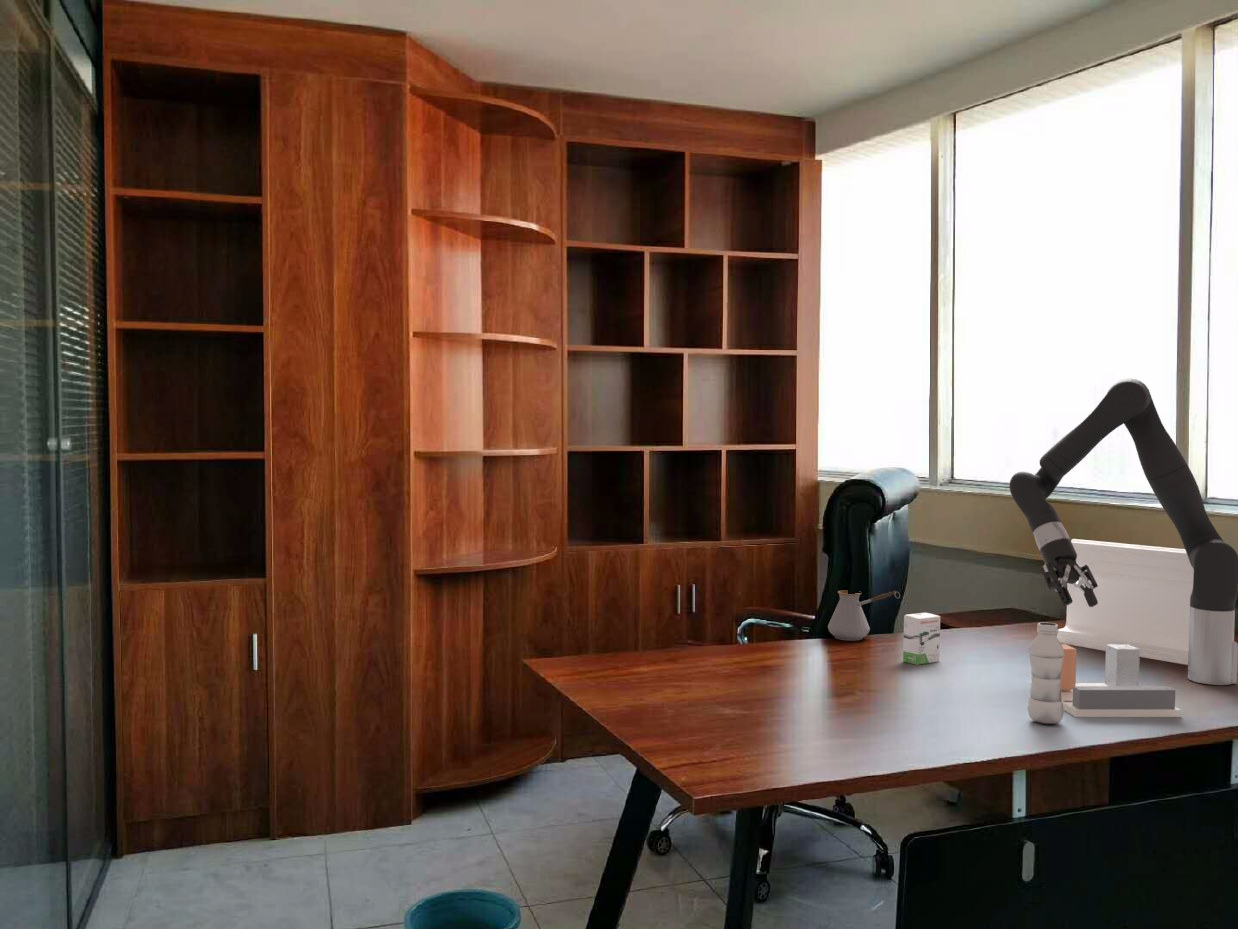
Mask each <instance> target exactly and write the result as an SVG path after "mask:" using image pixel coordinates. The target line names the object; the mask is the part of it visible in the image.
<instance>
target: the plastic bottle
mask: <svg viewBox="0 0 1238 929" xmlns="http://www.w3.org/2000/svg"><path fill="white" fill-rule="evenodd" d="M1058 627H1059V626H1058V624H1057V623H1053V622H1044V621H1043V622H1038V623H1037V627H1036V628H1037V629H1036V633H1037V636H1036V637H1035V638H1034V639H1033V640H1032V642H1031V643H1030V645H1029V647H1028V653H1029V660H1030V668H1031V670H1030V672H1031V683H1032V684H1031V683H1030V689H1031V690H1030V696H1029V699H1028V700H1029V701H1028V704H1027V705H1028V706H1027V712H1028V716H1029V718H1030V719H1031V720H1032V721H1033V722H1036V723H1040V724H1046V725H1052V724H1053V725H1054V724H1059V723H1061V722H1062V720H1063V718H1064V712H1065V711H1064V710H1063V703H1062V701H1061V700H1062V698H1061V679H1060V678H1061V670H1062V664H1063V658H1064V649H1063V646H1062V645H1061V644H1062V643H1060V641H1059V640H1058V639H1057V634H1058V631H1057V630H1058Z"/></svg>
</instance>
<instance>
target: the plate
mask: <svg viewBox="0 0 1238 929" xmlns="http://www.w3.org/2000/svg"><path fill="white" fill-rule="evenodd" d="M1031 684H1032V682H1030V685H1031ZM1030 691H1031V688H1030ZM1061 698H1062V700H1061V701H1062V703H1063V710H1064V712H1066V713H1068V714H1069V715H1071V716H1072V717H1074V718H1181V717H1182V709H1180V708H1178V707H1176V689H1174V688H1172V687H1170V686H1164V685H1163V686H1159V685H1157V686H1156V685H1154V686H1151V685H1146V686H1144V685H1142V686H1141V685H1140V686H1107V685H1105V682H1102V683H1101V682H1098V683H1097V682H1094V683H1093V682H1091V683H1090V682H1089V683H1087V682H1078V683H1077V682H1076V686H1073V690H1061Z"/></svg>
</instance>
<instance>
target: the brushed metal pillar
mask: <svg viewBox="0 0 1238 929" xmlns="http://www.w3.org/2000/svg"><path fill="white" fill-rule="evenodd" d="M1140 658H1141V657H1140V649H1138V648H1135V647H1133V646H1131V645H1128V644H1106V651H1105V664H1104V666H1105V667H1104V668H1105V669H1104V670H1105V674H1104V683H1105V685H1107V686H1139V684H1140V683H1139V681H1140Z"/></svg>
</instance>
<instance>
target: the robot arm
mask: <svg viewBox="0 0 1238 929" xmlns="http://www.w3.org/2000/svg"><path fill="white" fill-rule="evenodd" d="M1153 400H1154V399H1153V398H1152V395H1151V392H1150V389H1149V388H1148V387H1147V385H1146V384H1145V383H1144V382H1142V381H1141V380H1138V379H1136V378H1124V379H1120V380H1118V381H1117V382H1115V383H1113V385H1111V386H1109V388H1108V390H1107V392H1106V394H1105V395H1104V397H1103V398H1102V399H1101V401H1100V402H1099V403H1097V404H1098V405H1097V406H1096V407H1095V408H1094V410H1092V411H1091V412H1090V413H1089V414H1088V416H1087V417H1086V418H1085V419H1084V420H1083V421H1082V422H1080V423H1079V424H1078V425H1077V426H1075V427H1074V428H1073V429H1071V430H1070V431H1069V432H1068V433H1067V434H1065V435H1064V436H1063V437H1062V438H1061V439H1059V441H1057V442H1056V443H1055V444H1054V445H1053V446H1052V447H1051V448H1049V449H1048V451H1046V452H1045V453H1044V454H1043V455H1042V456H1041V458H1040V459H1039V465H1040V468H1039V469H1038V471H1037V472H1036V473H1031V472H1029V471H1018V472H1015V473H1014V474H1013V476H1011V479H1010V480H1009V490H1010V494H1011V497H1012V498H1013V500H1014V502H1015V504H1016V505H1017V507H1018V508H1019V510H1020V511H1021V513H1022V514H1024V516H1025V518H1026V520H1027V523H1028V525H1029V527H1030V529H1031V532H1032V534H1033V536H1034V541H1035V543H1036V545H1037V548H1038V550H1039V552H1040V556H1041V558H1042V559H1043V562H1044V565H1042V566H1041V567H1040V569H1041V572H1042V574H1043V577H1044V580H1045V583H1046V585H1047V587H1048V589H1049V590H1052V589H1053V590H1054V591H1055V592H1057V594H1058V597H1059V598H1060V601H1061V602H1062V605H1064V606H1066V607H1067V605H1069V604H1071V603H1072V598H1071V596H1070V594H1069V592H1068V589H1067V583H1070V584H1073V585H1074V586H1075V587H1078V588H1079V589H1080V590H1081V591H1082V592H1083V593H1084V596H1085V599H1086V601H1087V603H1088V605H1089V607H1094V606H1095V605H1097V604H1098V601H1097V598H1096V597H1095V594H1094V592H1093V589H1094V588H1096V587H1098V585H1097V583H1096V581H1095V579H1094V577H1093V575H1092V573H1091V571H1090V569H1089V567H1088V566H1087V565H1084V566H1083V567H1079V566H1078V564H1077V563H1076V558H1077V553H1076V551H1075V549H1074V547H1073V544H1072V542H1071V541H1072V539H1071V538H1070V536H1069V534H1068V531H1067V529H1066V528H1065V527H1064V525H1063V523H1062V521H1061V519H1060V516H1059V515H1058V512H1057V510H1056V508H1055V507H1054V506H1053V505H1052V504H1050V502H1048V501H1047V499H1048V498H1049V497H1050V496H1051V495H1052V493H1053V492H1054V491H1055V489H1056V488H1057V487H1058V485H1059V484H1060V482H1061V481H1062V479H1063V478H1064V477H1065V476H1066V475H1067V474H1068V473H1069V472H1071V470H1073V469H1074V468H1075V467H1077V465H1078V464H1079V463H1081V461H1083V459H1085V457H1087V455H1088V454H1089V453H1091V452H1092V450H1093V449H1094V448H1096V446H1097V445H1099V443H1101V442H1102V440H1103V439H1105V438H1106V437H1107V436H1108V435H1109V434H1110V433H1112V432H1114V430H1116V429H1118V428H1119V427H1121V426H1122V425H1124V426H1125V427H1126V430H1127V431H1128V433H1129V435H1130V437H1131V439H1132V441H1133V442H1134V445H1135V446H1134V447H1135V448H1136V449H1135V450H1136V453H1137V455H1138V456H1137V457H1138V460H1139V462H1140V466H1141V469H1142V470H1143V474H1144V476H1145V478H1146V480H1147V482H1148V484H1149V486H1150V488H1151V489H1152V491H1153V494H1154V495H1155V497H1156V498H1157V501H1158V502H1159V503H1160V505H1161V507H1162V509H1163V510H1164V512H1165V513H1166V515H1167V517H1168V518H1169V519H1170V521H1171V522H1172V523H1173V525H1174V527H1175V529H1176V530H1177V533H1178V534H1179V537H1180V539H1181V542H1182V544H1183V547H1184V549H1185V550H1186V553H1187V555H1188V558H1189V561H1190V564H1191V566H1192V567H1193V569H1194V576H1193V590H1192V594H1191V596H1190V619H1189V651H1188V665H1187V679H1188V680H1190V681H1193V682H1195V683H1199V684H1202V685H1203V684H1205V685H1213V686H1228V685H1233V684H1237V682H1238V680H1237V679H1238V642H1237V641H1235V620H1236V619H1235V618H1236V617H1235V616H1236V613H1235V612H1236V602H1237V598H1238V552H1237V551H1236V549H1234V547H1233V546H1232V545H1230V544H1228V543H1226V542H1225V541H1224V539H1223V538H1222V537H1221V535H1220V533H1219V532H1218V531H1217V529H1216V528H1215V526H1214V525H1213V523H1212V521H1211V519H1210V518H1209V516H1208V514H1207V510H1206V509H1205V505H1204V501H1203V498H1202V494H1201V492H1200V489H1199V485H1198V483H1197V481H1196V478H1195V476H1194V474H1193V473H1192V470H1191V468H1190V466H1189V465H1188V463H1187V461H1186V459H1185V458H1184V456H1183V455H1182V452H1181V451H1180V449H1179V448H1178V446H1177V444H1176V443H1175V442H1174V440H1173V438H1172V437H1171V436H1170V435H1169V433H1168V431H1167V429H1166V428H1165V427H1164V425H1163V423H1162V420H1161V418H1160V416H1159V413H1158V411H1157V408H1156V405H1155V404H1154V401H1153ZM1079 578H1081V580H1080V581H1078V580H1079ZM1089 580H1090V581H1091V583H1092V584H1090V583H1089V582H1088V581H1089ZM1077 581H1078V582H1077ZM1082 584H1084V585H1085V587H1084V586H1083V585H1082Z"/></svg>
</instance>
